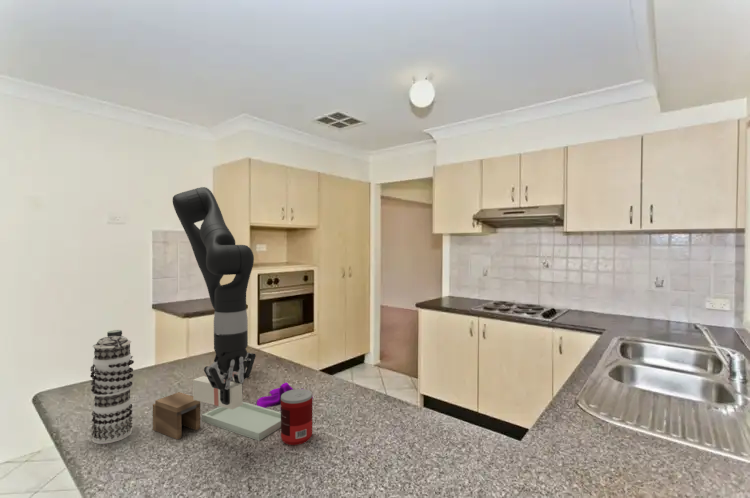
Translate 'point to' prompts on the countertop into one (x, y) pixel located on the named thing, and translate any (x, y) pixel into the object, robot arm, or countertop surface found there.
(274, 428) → the tray
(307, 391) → the canned food
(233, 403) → the pink-banded white block
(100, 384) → the decorative candle
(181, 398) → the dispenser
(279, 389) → the cloth
